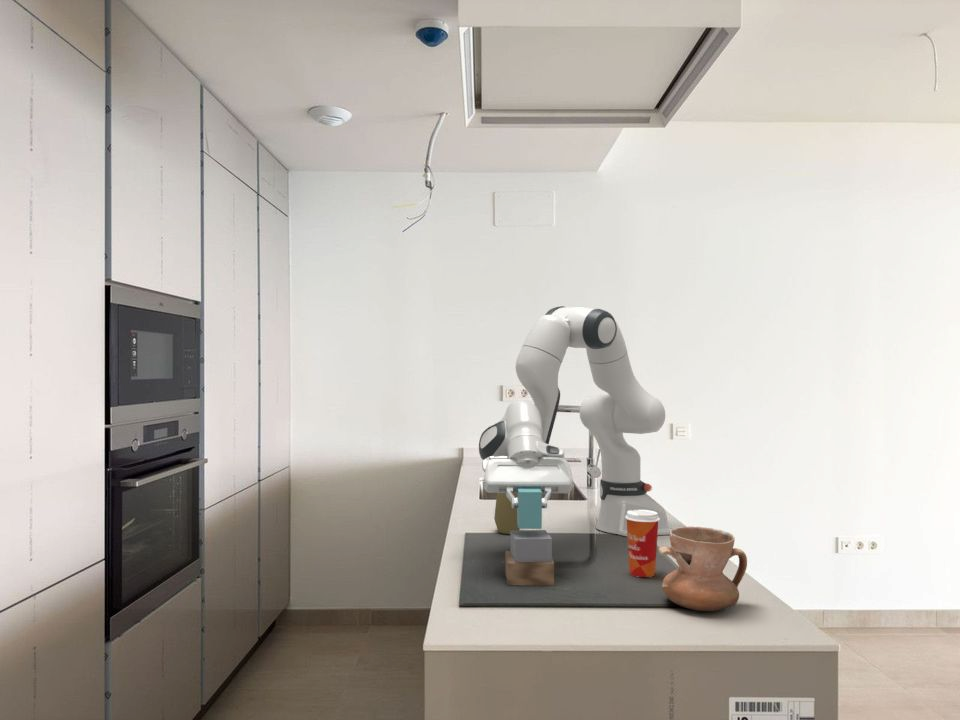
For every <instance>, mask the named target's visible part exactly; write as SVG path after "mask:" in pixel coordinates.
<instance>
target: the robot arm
mask: <svg viewBox="0 0 960 720" xmlns="http://www.w3.org/2000/svg"><path fill="white" fill-rule="evenodd" d="M569 347H570V348H575V349H579V348H580V349H581V348H582V349H586V356H587V359H588V363H589V369H590V373H591V376H592V380H593V382H594V384H595V385H596V387H597V388H598V389H600V390H601V391H603V392H604V393H607V394H602V393H601V394H596V395H591V396H587V397H586V398H584V399H583V401H582V403H581V404H580V407H579V419H580V421H581V423H582V425H583V426H584V427H585V428H586V429H587V430H589V432H590V433H591V434H592V436H593V437H594V439H595V441H596V443H597V445H598V448H599V452H600V458H601V459H600V460H601V478H600V482H599V483H600V484H599V498H600V504H599V505H600V506H599V513H598V517H597V518H598V519H597V522H596V525H595V528H596V529H597V530H599V531H601V532H606V533H609V534H615V535H616V534H617V535H619V536H624V537H627V519H626V518H625V516H626V515H627V512H628V511H629V510H631V511H632V510H650V511H655V512H657V513H658V517H659V518H660V520H659V521H658V534H657V536H662V535H663V536H666V535H670V530H671V529H673V528H676V527H675V526H674V525H673V524H672V523H670V522H669V519H668V515H667V512H666V509H665V508H664V507H663V506H662V505H661V504H660V503H658V502H657V501H656V500H655V499H654V498H652V497H651V496H650V495H649V494H647V493H648V492H651V491H652V489H653V487H652V484H650V483H646V482H645V481H643V480H641V455H640V453H639V452H638V450H637V449H636V448H635V447H633V446H632V445H630V444H629V443H628V442H627V441H626V439H625V437H624V434H634V435H636V434H637V435H643V434H651V433H657V432H658V431H660V429H662V427H663V426H664V423H665V422H666V421H665V420H666V410H665V406H664V405H663V403H662V401H661V400H659V399H658V398H657V397H654V396H653V395H651V394H650V393H649V392H648V391H647V390H646V389H644V387H643V386H642V385H641V384H640V382H639V381H638V380H637V378H636V376H635V375H634V371H633V369H632V366H631V361H630V358H629V353H628V350H627V346H626V342H625V338H624V336H623V333H622V331H621V328H620V326H619V324H618V322H617V321H616V319H615V318H614V316H613V315H612V314H611V312H609V311H607V310H604V309H601V308H592V307H586V306H562V305H561V306H557V307H556V306H555V307H553V308H551V309H549V310H548V311H547V312H546V313H545V314H544V315H542V316H540V317H539V318H538V319H537V320H536V322H535V323H534V324H533V326H532V327H531V329H530V331H529V333H528V334H527V336H526V338H525V340H524V342H523V344H522V346H521V348H520V351H519V353H518V356H517V358H516V361H515V372H516V375H517V378H518V380H519V382H520V383H521V385H522V387H524V389H525V390H526V391H527V392H528V394H529V396H530V398H531V399H532V401H533V402H530V401H528V400H525V399H524V400H523V399H522V400H521V399H520V400H519V399H518V400H515V401H512V402H510V403H509V404H508V406H507V407H506V410H505V412H504V415H503V417H501V419H500V420H499V421H498V422H497V423H494V424H493V425H489V426H488V427H486V429H485V430H483V432H482V433H481V435H480V438H479V443H478V453H479V456H480V458H481V460H482V462H481V464H482V467H481V468H482V470H483V472H484V478H483V479H484V481H483V482H484V484H483V489H484V490H485V492H486V493H489V494H497V493H506V496H507V498H508V499H509V500H510V502H512V508H518V505H519V503H518V498H515V497H514V496H513V493H517V488H540V490H541V491H542V494H543V496H544V497H542V509H548V501H549V500H550V498H551V497H552V496H551V494H570V492H571V491H572V490H573V487H574V486H573V485H574V480H573V479H574V478H573V473H572V470H571V466H570V464H569V461H567V459H565V450H564V449H563V448H562V447H560V446H555V445H551V444H549V443H550V441H551V436H552V432H553V429H554V425H555V421H556V419H557V414H558V409H559V405H560V400H561V390H560V388H559V382H558V381H559V372H560V368H561V365H562V363H563V360H564V358H565V356H566V352H567V350H568V348H569Z"/></svg>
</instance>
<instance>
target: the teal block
mask: <svg viewBox="0 0 960 720" xmlns="http://www.w3.org/2000/svg"><path fill="white" fill-rule="evenodd" d="M517 498H518V503H519V505H518V508H517V524H518V528H519V530H543V529H542V528H543V527H542V526H543V514H542V513H543V508H542V498H543V493H542V491H541V490H540V488H517Z"/></svg>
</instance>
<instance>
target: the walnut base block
mask: <svg viewBox="0 0 960 720" xmlns="http://www.w3.org/2000/svg"><path fill="white" fill-rule="evenodd" d="M504 555H505V559H504V572H505V579H506V578H507V579H506V584H522V585H521V586H555V562H554V560H553V558H552V562H516V563H515V561H514V559H513V557H512V555H511V553H510V550H505V553H504Z"/></svg>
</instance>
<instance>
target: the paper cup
mask: <svg viewBox="0 0 960 720" xmlns="http://www.w3.org/2000/svg"><path fill="white" fill-rule="evenodd" d="M625 518H626V519H627V536H626V538H627V554H628V567H629V575H630V574H631V576H632V575H634V576H633V577H635V576H639V577H638V578H640V577H650V578H652V577H651V576H654V577H655V575H656V574H655V573H656V565H657V564H656V563H657V547H658V535H657V534H658V521H659V520H660V518H659V517H658V513H657V512H655V511H650V510H632V511H631V510H629V511H628V512H627V515H626V516H625Z"/></svg>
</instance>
